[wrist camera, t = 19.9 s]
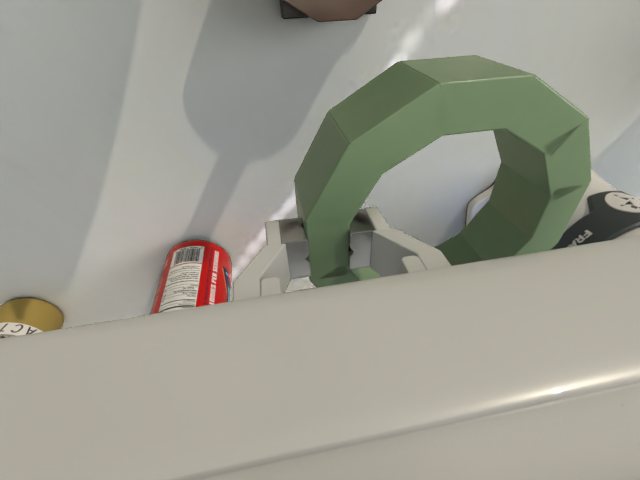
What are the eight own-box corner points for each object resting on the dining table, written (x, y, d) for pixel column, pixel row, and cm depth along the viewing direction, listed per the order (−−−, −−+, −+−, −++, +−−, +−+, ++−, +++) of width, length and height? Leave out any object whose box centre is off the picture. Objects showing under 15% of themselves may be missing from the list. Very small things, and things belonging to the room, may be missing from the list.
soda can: (197, 224, 39) (177, 328, 27) (245, 259, 43) (245, 362, 32) (152, 259, 41) (116, 371, 29) (202, 290, 45) (188, 397, 34)
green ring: (491, 262, 20) (527, 303, 17) (304, 292, 18) (314, 341, 16) (574, 46, 13) (655, 63, 10) (283, 70, 11) (295, 95, 9)
